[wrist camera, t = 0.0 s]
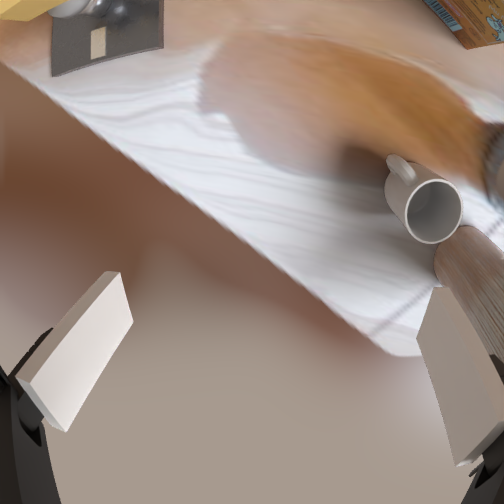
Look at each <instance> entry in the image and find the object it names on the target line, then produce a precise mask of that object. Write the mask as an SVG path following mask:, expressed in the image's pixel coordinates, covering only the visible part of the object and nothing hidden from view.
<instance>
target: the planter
mask: <svg viewBox="0 0 504 504" xmlns="http://www.w3.org/2000/svg"><path fill="white" fill-rule="evenodd" d="M433 265H434V271H435V274H436V276H437V278H438V280H439V281H440V283H441V285H442V286H443V287H449V288H450V290H451V292H452V293H453V295H454V296H455V298H456V299H457V301H458V303H459V304H460V306H461V307H462V309H463V311H464V312H465V314H466V316H467V317H468V319H469V321H470V322H471V324H472V326H473V328H474V329H475V331H476V333H477V335H478V336H479V338H480V340H481V342H482V344H483V345H484V347H485V349H486V351H487V353H488V355H492V354H495V355H496V356H497V357H498V358H499V359H500V360H501V361H502V362H503V363H504V252H503V251H502V250H501V249H500V248H499V247H498V246H496V245H495V244H494V243H493V242H492V241H491V240H490V239H489V238H488V237H487V236H486V235H485V234H483V233H482V232H481V231H479V230H478V229H477V228H474V227H471V226H463V227H459V228H457V229H456V231H455V232H454V233H453V234H452V235H451V236H450V237H449V238H447V239H446V240H444V241H442V242H440V244H439V246H438V248H437V250H436V252H435V256H434V262H433Z"/></svg>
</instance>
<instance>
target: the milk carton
mask: <svg viewBox="0 0 504 504" xmlns="http://www.w3.org/2000/svg"><path fill="white" fill-rule="evenodd" d="M422 1H423V2H424V3H425V4H426V5H427V6H428V7H429V8H430V9H431V10H432V11H433V12H434V13H435V14H436V15H437V16H438V17H439V18H440V19H441V20H442V21H443V22H444V24H445V25H446V26H447V27H448V28H449V29H450V30H451V31H452V32H453V34H454V35H455V36H456V37H457V38H458V39H459V41H460V42H461V43H462V44H463V46H464V47H465V48H466V49H467V50H468V49H473V48H478V47H483V46H489V45H494V44H500V43H504V0H422Z"/></svg>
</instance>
